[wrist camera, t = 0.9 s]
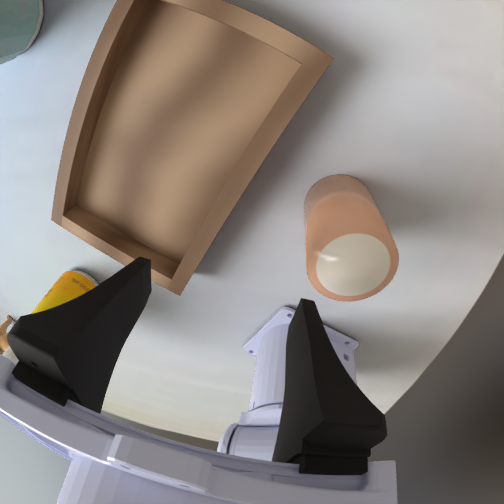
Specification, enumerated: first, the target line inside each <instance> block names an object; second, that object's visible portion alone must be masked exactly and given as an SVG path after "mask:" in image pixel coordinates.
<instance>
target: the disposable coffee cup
mask: <svg viewBox="0 0 504 504" xmlns="http://www.w3.org/2000/svg"><path fill="white" fill-rule="evenodd" d="M43 15H44V14H43V1H42V0H0V64H2V63H5V62H7V61H10V60H12V59H14V58H16V57H17V56H18V55H20V54H21V53H23V52H24V51H25V50H27V49H28V48H29V47H30V46H31V44H32V43H33V41H34V39H35V38H36V36H37V34H38V33H39V30H40V26H41V22H42V19H43Z"/></svg>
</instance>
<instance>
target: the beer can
mask: <svg viewBox="0 0 504 504" xmlns="http://www.w3.org/2000/svg"><path fill="white" fill-rule="evenodd" d="M98 285H99V284H98V283H97V282H96V280H95V279H93V278H92V277H91V276H90V275H88V274H87V273H85V272H82V271H78V270H74V271H67V272H65V273H63V274H62V276H61V277H60V278H59V279H58V280H57V282H56V283H55V284H54V285H53V287H52V288H51V289H50V290H49V292H48V293H47V294H46V295H45V297H44V298H43V299H42V300H41V302H40V303H39V304H38V306H37V307H36V308H35V310H34V311H33V312H32V314H33V313H37V312H41V311H44V310H47V309H50V308H53V307H56V306H58V305H61V304H63V303H65V302H68V301H70V300H72V299H74V298H76V297H78V296H80V295H82V294H84V293H86V292H88V291H89V290H91V289H93V288H94V287H96V286H98ZM3 356H5V357H6V358H8V359H9V360H11V361H12V362H13V363H14V364H15V365H16V364H17V363H18V361H19V360H18V359H17V357H16V356H15V354H14V352H13V351H12V349H11V348H10V346H8V347H7V349H6V350H5V352H4V353H3Z"/></svg>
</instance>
